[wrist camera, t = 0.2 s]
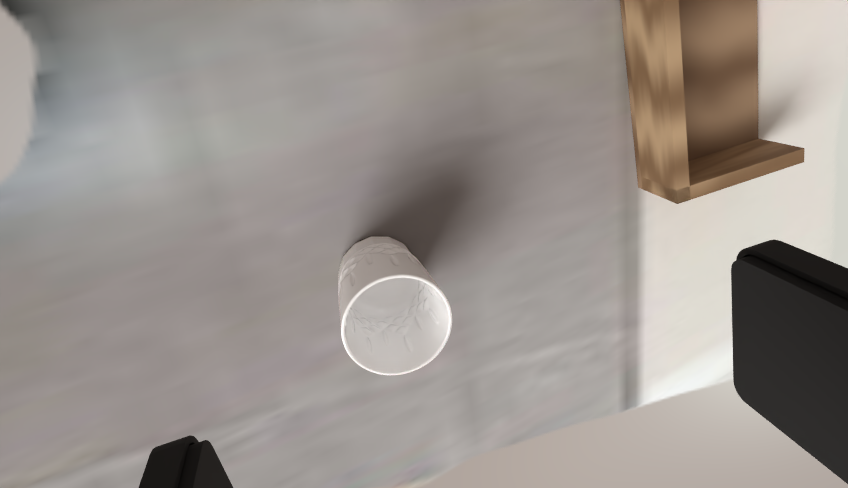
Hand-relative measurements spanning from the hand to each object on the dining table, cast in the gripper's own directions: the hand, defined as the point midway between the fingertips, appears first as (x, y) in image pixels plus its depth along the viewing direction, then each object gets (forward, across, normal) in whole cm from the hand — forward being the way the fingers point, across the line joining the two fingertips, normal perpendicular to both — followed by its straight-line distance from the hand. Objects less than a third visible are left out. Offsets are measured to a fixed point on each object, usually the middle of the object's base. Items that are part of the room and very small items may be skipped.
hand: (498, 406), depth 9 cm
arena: (+36, -31, +4) cm, 48 cm away
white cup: (+37, 0, +13) cm, 39 cm away
